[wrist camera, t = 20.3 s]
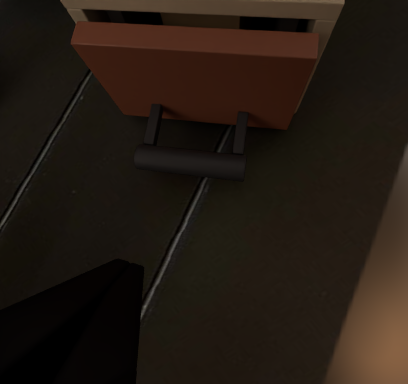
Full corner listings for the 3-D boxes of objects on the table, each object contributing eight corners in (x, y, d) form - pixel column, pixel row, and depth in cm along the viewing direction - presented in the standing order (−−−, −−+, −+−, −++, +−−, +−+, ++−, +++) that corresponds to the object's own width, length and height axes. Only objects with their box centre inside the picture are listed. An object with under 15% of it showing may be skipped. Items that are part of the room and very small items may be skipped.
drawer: (280, 193, 16) (310, 153, 10) (110, 171, 17) (45, 125, 11) (302, -34, 20) (334, -167, 13) (159, -38, 21) (129, -159, 15)
